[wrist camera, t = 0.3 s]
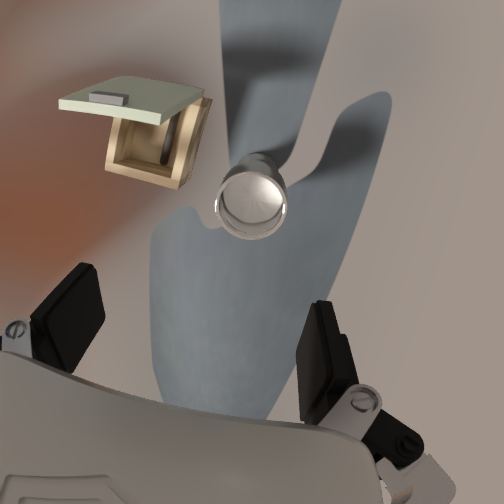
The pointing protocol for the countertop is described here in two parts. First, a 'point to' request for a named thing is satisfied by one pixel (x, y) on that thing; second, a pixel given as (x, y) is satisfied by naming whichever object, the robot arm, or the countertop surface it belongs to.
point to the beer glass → (252, 198)
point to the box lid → (133, 99)
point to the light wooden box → (158, 146)
